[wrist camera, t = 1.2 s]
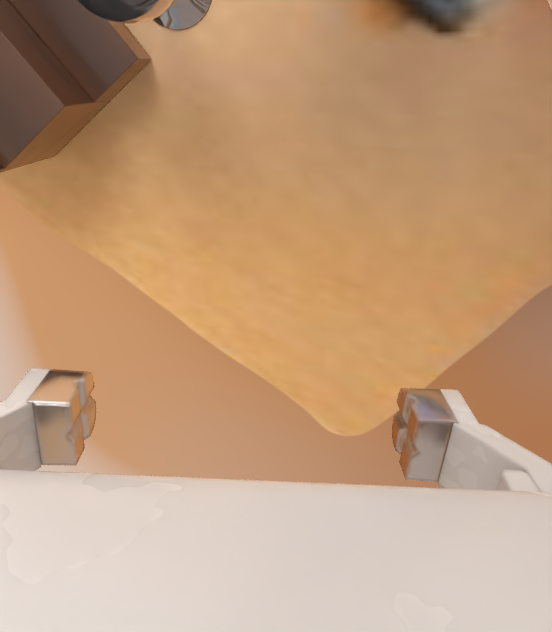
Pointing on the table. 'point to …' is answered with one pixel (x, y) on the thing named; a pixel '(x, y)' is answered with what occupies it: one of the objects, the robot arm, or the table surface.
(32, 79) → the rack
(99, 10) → the wine glass
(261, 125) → the table surface
